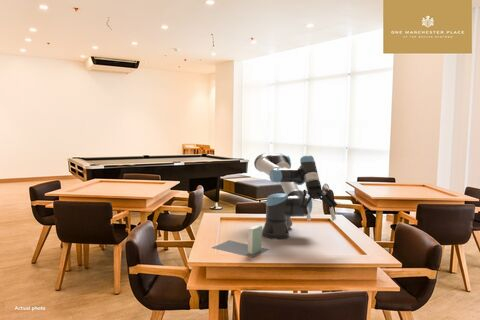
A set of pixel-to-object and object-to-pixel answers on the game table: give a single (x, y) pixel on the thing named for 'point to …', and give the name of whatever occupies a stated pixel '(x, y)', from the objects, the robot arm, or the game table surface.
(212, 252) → the game table surface
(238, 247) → the mat
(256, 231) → the tile
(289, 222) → the coffee pot
